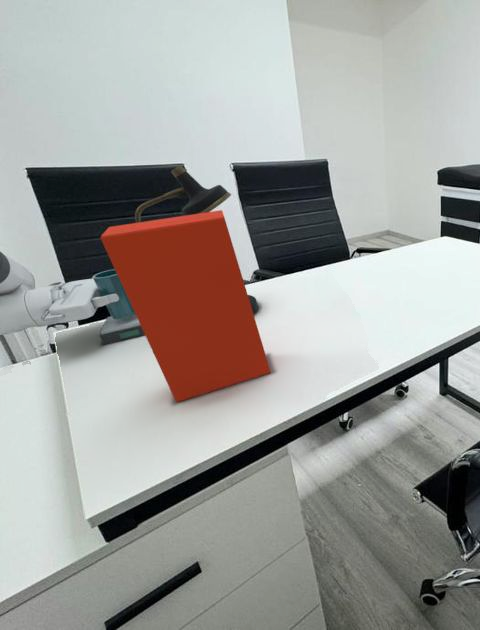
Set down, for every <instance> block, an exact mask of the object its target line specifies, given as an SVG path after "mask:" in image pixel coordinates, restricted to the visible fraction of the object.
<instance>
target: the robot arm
mask: <svg viewBox="0 0 480 630" xmlns="http://www.w3.org/2000/svg"><path fill="white" fill-rule="evenodd" d="M119 298H120V297H119V295H118V293H111V294H108V295H106V296H102V297H101V295H100V293H99V291H98V289H97V286H96V284H95V282H94V280H93V278H87V279H79V280H72V281H69V282H65V281H64V280H62V281H56V282H54V283H53V282H52V283H50V284H49V285H47V286H41V287H39V288H36V283H35V277H34V275H33V274H32V272H30V271H29V269H28V268H26V267H24V266H23V265H21V264H20V263H19V262H17V261H15V259H12V258H10V257H9V256H7V255H6V254H4V253H3V252H2V251H0V336H4V335H8V334H9V335H10V334H14V333H19V332H23V331H25V330H26V329H30V328H42V327H46V326H52V325H56V324H62V323H64V324H65V323H69V322H75V321H76V322H77V321H81V320H87V319H89V318H91V317H93V316H94V315H95V313H96V312H97V310H98V309H99V308H102V307H104V306H106V305H107V304H109V303H111V302H116V301H119Z"/></svg>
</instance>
